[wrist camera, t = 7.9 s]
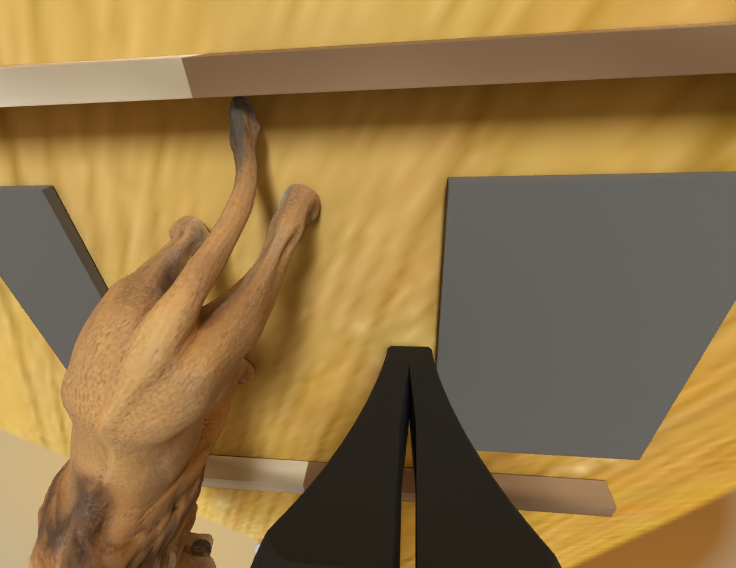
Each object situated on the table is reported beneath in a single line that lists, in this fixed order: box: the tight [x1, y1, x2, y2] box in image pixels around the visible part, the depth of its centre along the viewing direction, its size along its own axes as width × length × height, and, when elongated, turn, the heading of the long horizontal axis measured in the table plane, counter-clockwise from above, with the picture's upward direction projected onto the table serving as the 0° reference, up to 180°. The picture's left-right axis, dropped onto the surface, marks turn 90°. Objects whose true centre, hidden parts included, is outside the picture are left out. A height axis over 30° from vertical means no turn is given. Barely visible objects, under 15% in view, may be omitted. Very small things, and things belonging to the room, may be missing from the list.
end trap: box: [0, 185, 108, 370], centre depth 15 cm, size 12×4×1 cm, turn 3°
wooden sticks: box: [0, 22, 736, 517], centre depth 14 cm, size 18×22×1 cm
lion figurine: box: [28, 96, 320, 568], centre depth 10 cm, size 15×5×9 cm, turn 164°
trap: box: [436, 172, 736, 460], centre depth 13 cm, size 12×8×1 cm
